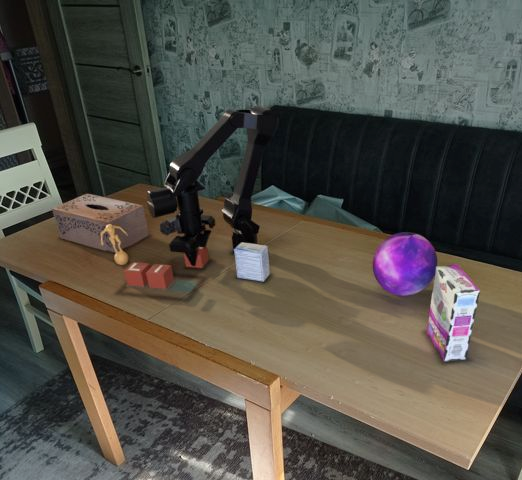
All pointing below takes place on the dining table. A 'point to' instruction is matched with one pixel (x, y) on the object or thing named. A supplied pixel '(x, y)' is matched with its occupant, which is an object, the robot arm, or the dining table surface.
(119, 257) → the figurine
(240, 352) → the dining table surface
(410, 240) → the decorative orb
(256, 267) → the medicine box
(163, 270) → the red box-shaped block
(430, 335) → the candy bar box
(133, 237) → the tissue box cover
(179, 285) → the word mat
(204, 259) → the letter T
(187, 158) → the robot arm
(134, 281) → the letter L
